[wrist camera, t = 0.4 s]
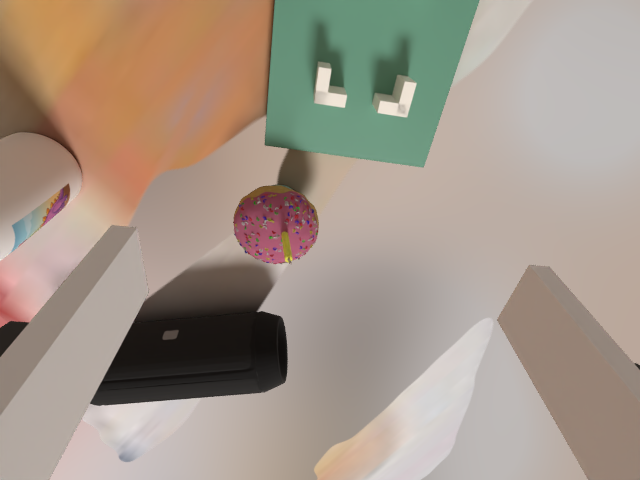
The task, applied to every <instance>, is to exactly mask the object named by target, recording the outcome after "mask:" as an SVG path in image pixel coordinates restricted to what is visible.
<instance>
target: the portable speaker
mask: <svg viewBox="0 0 640 480" xmlns="http://www.w3.org/2000/svg"><path fill="white" fill-rule="evenodd" d="M287 360H288V359H287V340H286V332H285V326H284V322H283V319H282V318H281V317H280V316H277V315H274V314H270V313H266V312H263V311H261V312H254V313H243V314H231V315H220V316H208V317H197V318H186V319H174V320H163V321H151V322H140V323H132V325H131V327H130V329H129V331H128V333H127V335H126V336H125V338H124V340H123V342H122V344H121V346H120V348H119V350H118V352H117V353H116V355H115V357H114V359H113V361H112V363H111V365H110V367H109V368H108V370H107V372H106V374H105V376H104V378H103V380H102V382H101V383H100V385H99V387H98V389H97V391H96V393H95V395H94V397H93V398H92V400H91V402H90V404H93V405H97V406H101V405H115V404H128V403H140V402H153V401H165V400H177V399H190V398H202V397H214V396H226V395H239V394H251V393H261V392H266V391H268V390H271V389H273V388H275V387H277V386H279V385H281V384H283V383H285V381H286V376H287Z"/></svg>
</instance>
